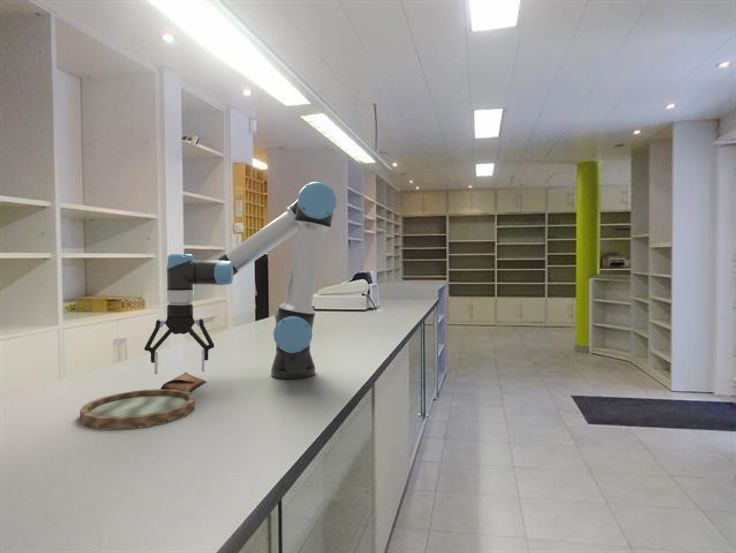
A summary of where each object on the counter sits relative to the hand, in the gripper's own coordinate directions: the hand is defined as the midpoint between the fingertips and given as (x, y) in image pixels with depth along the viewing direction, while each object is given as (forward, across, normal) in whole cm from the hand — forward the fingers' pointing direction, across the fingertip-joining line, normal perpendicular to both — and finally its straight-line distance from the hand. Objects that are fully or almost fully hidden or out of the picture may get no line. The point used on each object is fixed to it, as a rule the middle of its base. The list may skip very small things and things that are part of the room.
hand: (180, 372), depth 158 cm
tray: (+5, +8, +23) cm, 25 cm away
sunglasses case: (+6, -2, 0) cm, 6 cm away
